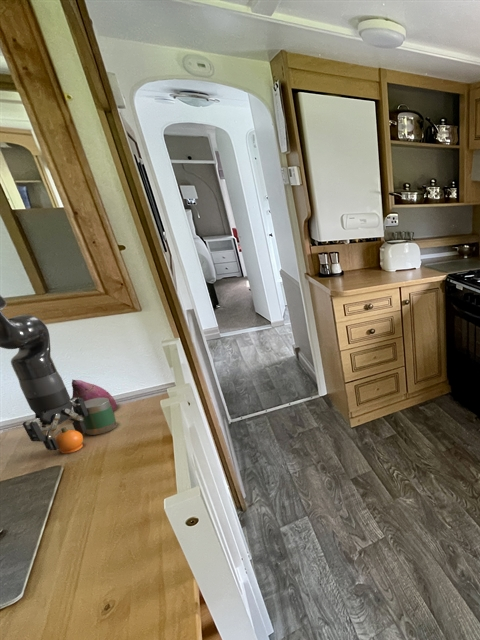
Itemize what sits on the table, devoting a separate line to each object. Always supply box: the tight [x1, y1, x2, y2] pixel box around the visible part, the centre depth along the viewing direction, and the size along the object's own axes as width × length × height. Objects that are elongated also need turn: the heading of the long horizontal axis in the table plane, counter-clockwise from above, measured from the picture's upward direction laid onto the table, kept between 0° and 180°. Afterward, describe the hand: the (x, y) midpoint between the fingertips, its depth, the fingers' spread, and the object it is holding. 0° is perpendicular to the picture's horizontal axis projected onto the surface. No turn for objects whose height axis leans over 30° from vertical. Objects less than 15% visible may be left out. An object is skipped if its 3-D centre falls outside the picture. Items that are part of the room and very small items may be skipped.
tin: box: [83, 398, 118, 436], centre depth 115 cm, size 7×7×9 cm
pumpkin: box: [54, 427, 84, 454], centre depth 106 cm, size 6×6×7 cm
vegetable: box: [71, 379, 118, 413], centre depth 122 cm, size 10×10×15 cm
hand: (68, 441), depth 106 cm, fingers open, 7 cm apart
